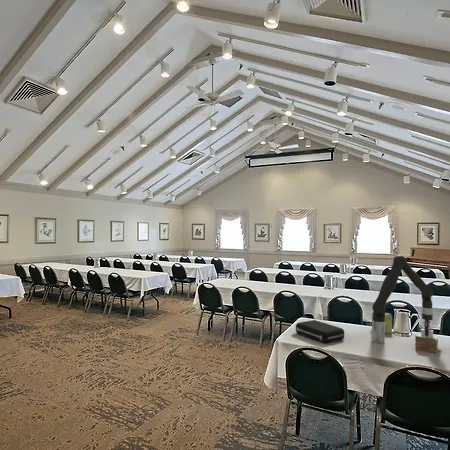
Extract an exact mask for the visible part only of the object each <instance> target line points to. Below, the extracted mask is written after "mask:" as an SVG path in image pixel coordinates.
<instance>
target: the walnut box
mask: <svg viewBox="0 0 450 450" xmlns="http://www.w3.org/2000/svg"><path fill="white" fill-rule="evenodd" d="M438 339H439V338H438ZM438 339H437V342H436V339H433V338H427V337H421V336H417V335H415V339H414V341H415V342H414V343H415V348H414V349H415V350H416V351H420V352H426V353H430V354H431V353H432V354H437V352H438V349H439V347H438V346H439V344H438V343H439V340H438Z"/></svg>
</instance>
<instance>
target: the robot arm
mask: <svg viewBox="0 0 450 450" xmlns="http://www.w3.org/2000/svg"><path fill="white" fill-rule="evenodd" d="M392 261H393V262H392V264H391V265H392V266H391V269H390V270H389V272H388V273H387V274H386V276H385V277H384V279H383V281H382V284H381V286H380V289H379V293H378V295H377V298H376V299H375V301H374V302H373V304H372V312H373V329H372V328H371V338H370V339H371V341H372V342H374V343H376V344H384V343H385V339H386V338H385V335H386V332H385V313H386V304H387V301H388V299H390V296H391V294H392V293H393V291H394V289H395V288H396V285H397V283H398V280H399V277H400V275H401V273H402V271H403V272H404V273H405V274H406V276H407V278H408V279H409V280H410V281H411V283H412V284H413V285H414V286H415V288H417V289H418V290H419V291H420V292H421V299H422V300H421V306H422V307H421V319H422V320H424V321H423V325H424V329H425V336H428V331H429V330H430V328H431V327H430V326H431V321H433V319H434V313H433V301H432V297H433V296H434V291H433V290H432V289H431V287H429V286H428V285H427V284H426V282H425V281H424V280H423V278H421V277H420V275H419V274H418V273H417V272H416V271H415V270H414V269H413V268H412V267H411V266H410V264H409V263H408V261H407V258H406V257H405V256H404V255H402V254H396V255H395V256H394V257H393V259H392Z"/></svg>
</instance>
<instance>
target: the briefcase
mask: <svg viewBox="0 0 450 450" xmlns="http://www.w3.org/2000/svg"><path fill="white" fill-rule="evenodd" d="M295 332H296V334H298V335H300V336H301V337H302V336H303V337H305V338H309V339H311V340H313V341H317V342H319V343H322V344H324V345H325V344H330V343H334V342H339V341H342V340H344V339H345V330H344V328H342V327H339V326H336V325H332V324H330V323H327V322H322V321H319V320H316V319H313V320H308V321H307V320H306V321H302V322H301V321H300V322H297V323H296V324H295Z"/></svg>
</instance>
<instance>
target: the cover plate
mask: <svg viewBox="0 0 450 450" xmlns="http://www.w3.org/2000/svg"><path fill="white" fill-rule="evenodd" d="M416 336H421V337H427V338H433V339H436V342H437V339H439V335H436V334H434V330H433V329H429V331H428V336H425V328H421V330H420V332H417V334H416Z"/></svg>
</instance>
